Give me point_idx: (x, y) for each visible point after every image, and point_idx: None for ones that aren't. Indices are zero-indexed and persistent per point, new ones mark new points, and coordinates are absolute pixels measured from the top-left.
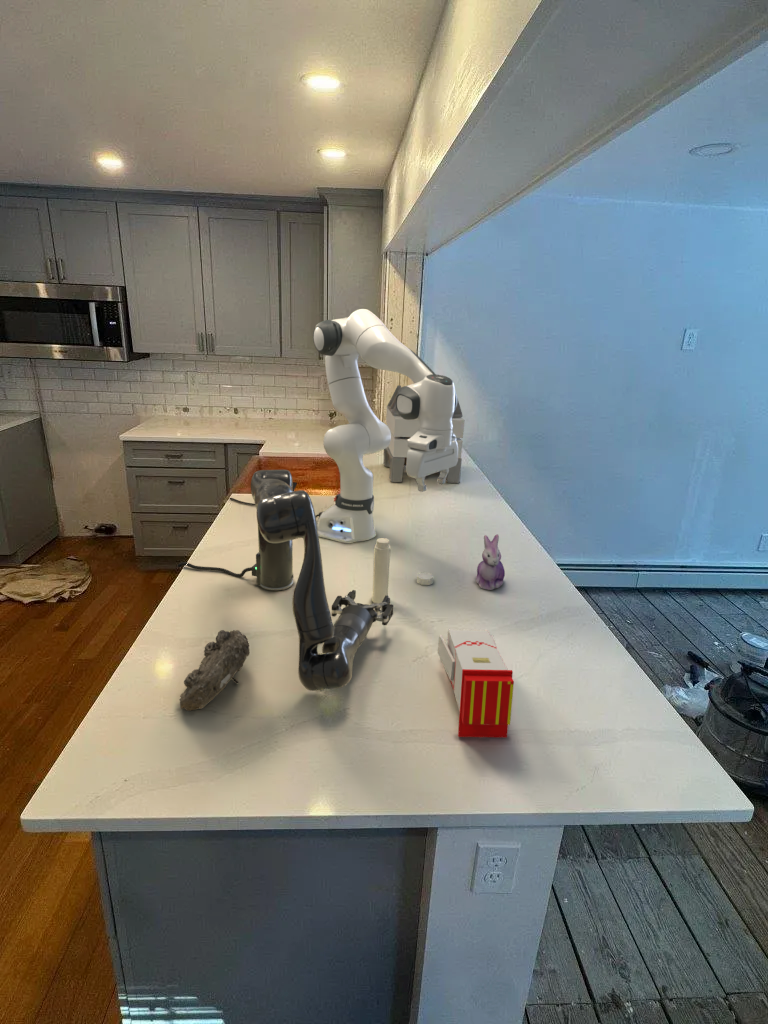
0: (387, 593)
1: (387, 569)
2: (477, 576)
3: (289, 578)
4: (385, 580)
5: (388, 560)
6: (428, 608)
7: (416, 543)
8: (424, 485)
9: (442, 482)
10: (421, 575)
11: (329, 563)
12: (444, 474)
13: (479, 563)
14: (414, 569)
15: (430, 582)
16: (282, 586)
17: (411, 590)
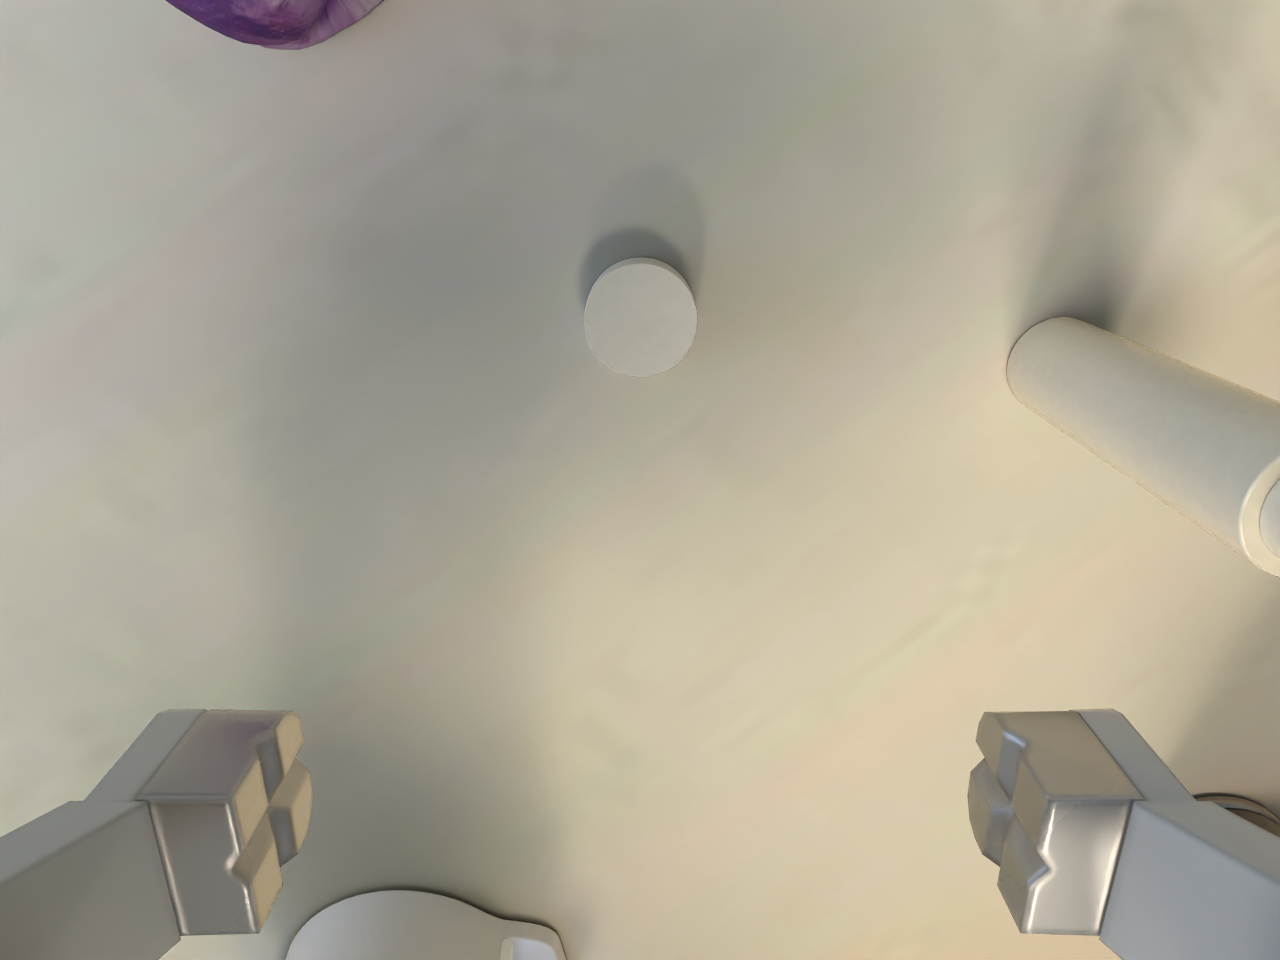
0: (1080, 331)
1: (1207, 376)
2: (342, 9)
3: None
4: (1169, 357)
5: (1251, 397)
6: (957, 59)
7: (208, 682)
8: (1155, 798)
9: (273, 735)
10: (656, 342)
11: (829, 841)
12: (48, 909)
13: (266, 14)
14: (538, 467)
15: (650, 260)
16: (1258, 815)
17: (807, 303)
